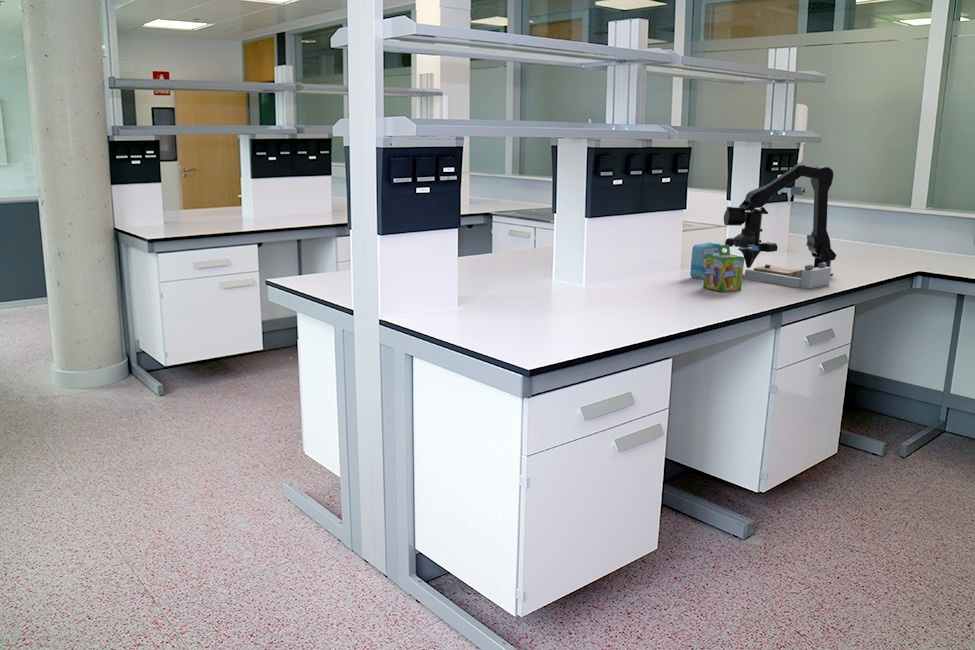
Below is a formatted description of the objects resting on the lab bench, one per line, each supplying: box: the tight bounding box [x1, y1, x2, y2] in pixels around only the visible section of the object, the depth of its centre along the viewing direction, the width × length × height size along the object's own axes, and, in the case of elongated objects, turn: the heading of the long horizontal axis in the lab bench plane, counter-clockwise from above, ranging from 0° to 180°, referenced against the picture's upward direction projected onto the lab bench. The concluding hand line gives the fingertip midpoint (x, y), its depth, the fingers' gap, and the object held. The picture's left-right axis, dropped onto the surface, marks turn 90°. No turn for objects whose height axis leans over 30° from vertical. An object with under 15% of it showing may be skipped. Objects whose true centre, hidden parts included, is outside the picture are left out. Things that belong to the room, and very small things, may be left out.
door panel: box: [753, 264, 803, 278], centre depth 286 cm, size 11×13×5 cm
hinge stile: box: [799, 262, 832, 289], centre depth 274 cm, size 14×3×8 cm, turn 130°
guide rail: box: [744, 269, 801, 289], centre depth 279 cm, size 2×21×3 cm, turn 40°
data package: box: [689, 242, 721, 280], centre depth 285 cm, size 12×4×12 cm, turn 132°
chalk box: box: [702, 244, 745, 293], centre depth 264 cm, size 9×9×15 cm
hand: (748, 267), depth 295 cm, fingers closed
